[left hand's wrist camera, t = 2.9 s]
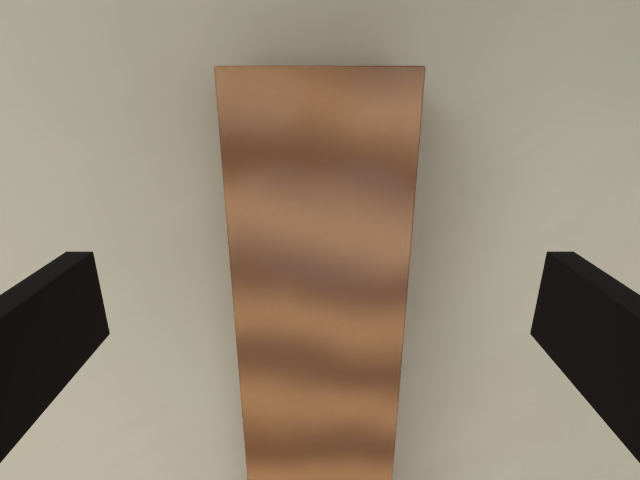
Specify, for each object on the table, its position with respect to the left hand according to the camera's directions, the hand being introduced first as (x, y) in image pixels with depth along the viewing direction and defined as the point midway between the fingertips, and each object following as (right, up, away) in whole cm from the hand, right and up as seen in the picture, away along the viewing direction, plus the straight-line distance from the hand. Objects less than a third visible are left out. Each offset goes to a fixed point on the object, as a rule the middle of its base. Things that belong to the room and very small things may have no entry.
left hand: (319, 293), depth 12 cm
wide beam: (0, -20, +24) cm, 31 cm away
